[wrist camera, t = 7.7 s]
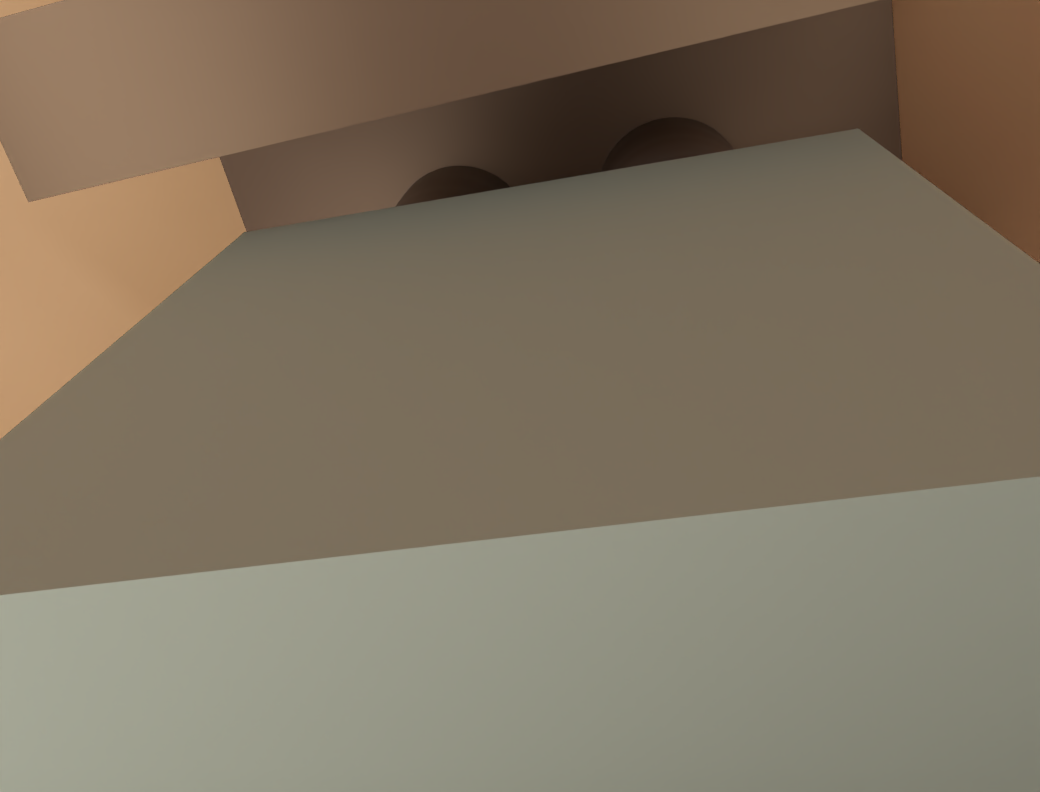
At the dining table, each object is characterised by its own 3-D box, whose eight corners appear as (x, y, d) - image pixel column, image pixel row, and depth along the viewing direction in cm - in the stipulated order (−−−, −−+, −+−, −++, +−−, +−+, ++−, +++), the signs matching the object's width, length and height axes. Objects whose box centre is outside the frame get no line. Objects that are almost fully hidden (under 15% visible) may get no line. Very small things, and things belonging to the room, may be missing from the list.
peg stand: (859, -207, 14) (1140, -362, 7) (920, 636, 20) (1094, 1012, 13) (180, -22, 16) (-168, 11, 9) (435, 699, 22) (360, 1061, 15)
